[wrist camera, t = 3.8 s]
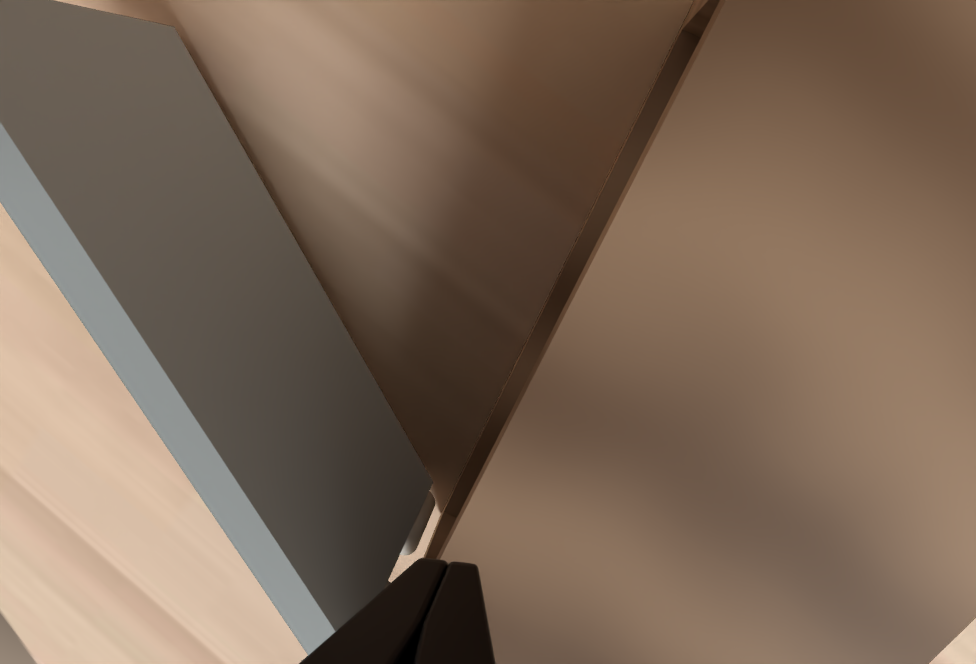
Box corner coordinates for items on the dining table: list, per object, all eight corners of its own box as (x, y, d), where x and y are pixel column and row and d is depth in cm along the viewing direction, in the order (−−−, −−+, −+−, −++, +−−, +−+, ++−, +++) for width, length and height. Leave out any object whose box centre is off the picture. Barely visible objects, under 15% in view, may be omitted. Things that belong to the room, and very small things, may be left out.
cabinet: (665, 622, 24) (699, 886, 16) (440, 514, 24) (357, 720, 16) (1021, 146, 17) (1434, 173, 9) (695, -3, 17) (786, -120, 9)
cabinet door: (443, 500, 24) (369, 682, 16) (392, 518, 24) (297, 699, 17) (174, 27, 19) (-103, -34, 12) (121, 64, 20) (-171, 30, 12)
